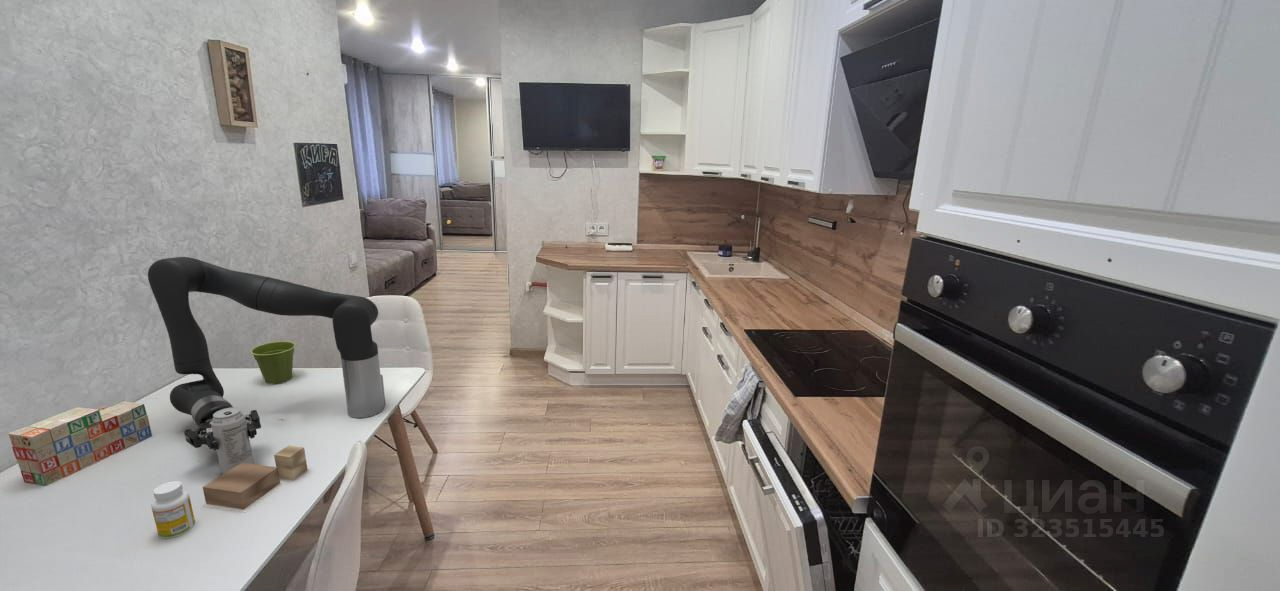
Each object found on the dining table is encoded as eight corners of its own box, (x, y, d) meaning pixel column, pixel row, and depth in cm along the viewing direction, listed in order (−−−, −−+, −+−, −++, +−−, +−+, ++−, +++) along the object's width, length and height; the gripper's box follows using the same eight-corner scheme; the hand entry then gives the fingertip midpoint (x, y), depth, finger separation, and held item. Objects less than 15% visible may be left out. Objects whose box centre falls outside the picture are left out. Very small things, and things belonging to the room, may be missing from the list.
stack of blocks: (133, 433, 132) (122, 389, 128) (153, 436, 131) (142, 392, 127) (23, 483, 111) (6, 432, 108) (45, 487, 110) (30, 436, 107)
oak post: (292, 468, 119) (288, 445, 117) (307, 470, 118) (304, 447, 117) (278, 478, 115) (274, 454, 113) (293, 480, 114) (289, 457, 113)
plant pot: (248, 381, 162) (243, 348, 159) (289, 370, 172) (284, 338, 169) (266, 391, 156) (260, 357, 153) (307, 378, 166) (303, 346, 163)
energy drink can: (246, 460, 122) (236, 403, 118) (259, 468, 119) (248, 410, 115) (216, 473, 117) (204, 414, 113) (229, 481, 114) (216, 421, 110)
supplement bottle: (173, 521, 101) (163, 478, 99) (202, 520, 102) (193, 478, 99) (151, 540, 96) (139, 496, 94) (181, 539, 97) (171, 495, 94)
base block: (244, 478, 115) (242, 462, 113) (280, 483, 113) (277, 467, 112) (206, 503, 106) (202, 487, 105) (243, 509, 105) (240, 492, 104)
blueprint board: (266, 465, 120) (265, 464, 120) (307, 471, 118) (307, 469, 118) (199, 510, 105) (199, 508, 104) (246, 517, 103) (245, 515, 103)
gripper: (172, 411, 118) (189, 437, 107) (247, 391, 128) (270, 413, 118) (178, 440, 119) (196, 468, 109) (252, 418, 130) (275, 442, 120)
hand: (234, 439), depth 114 cm, fingers closed on energy drink can, 6 cm apart
